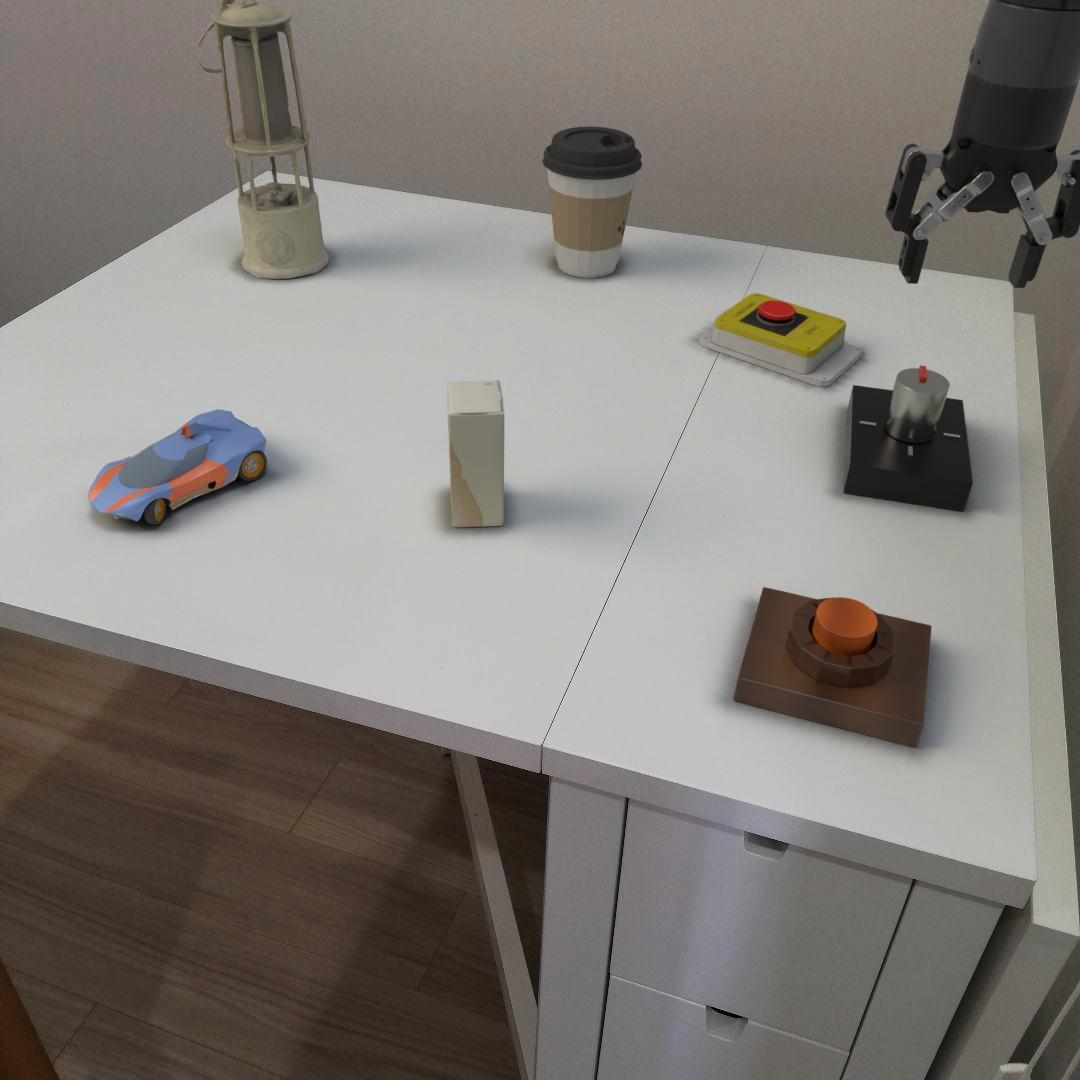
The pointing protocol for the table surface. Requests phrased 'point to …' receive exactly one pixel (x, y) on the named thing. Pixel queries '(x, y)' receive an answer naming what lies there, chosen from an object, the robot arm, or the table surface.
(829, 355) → the emergency button
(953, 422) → the panel
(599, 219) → the coffee cup
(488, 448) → the box
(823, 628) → the button
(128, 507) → the toy car
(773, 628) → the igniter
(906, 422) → the hob knob
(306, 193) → the lamp
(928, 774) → the table surface
